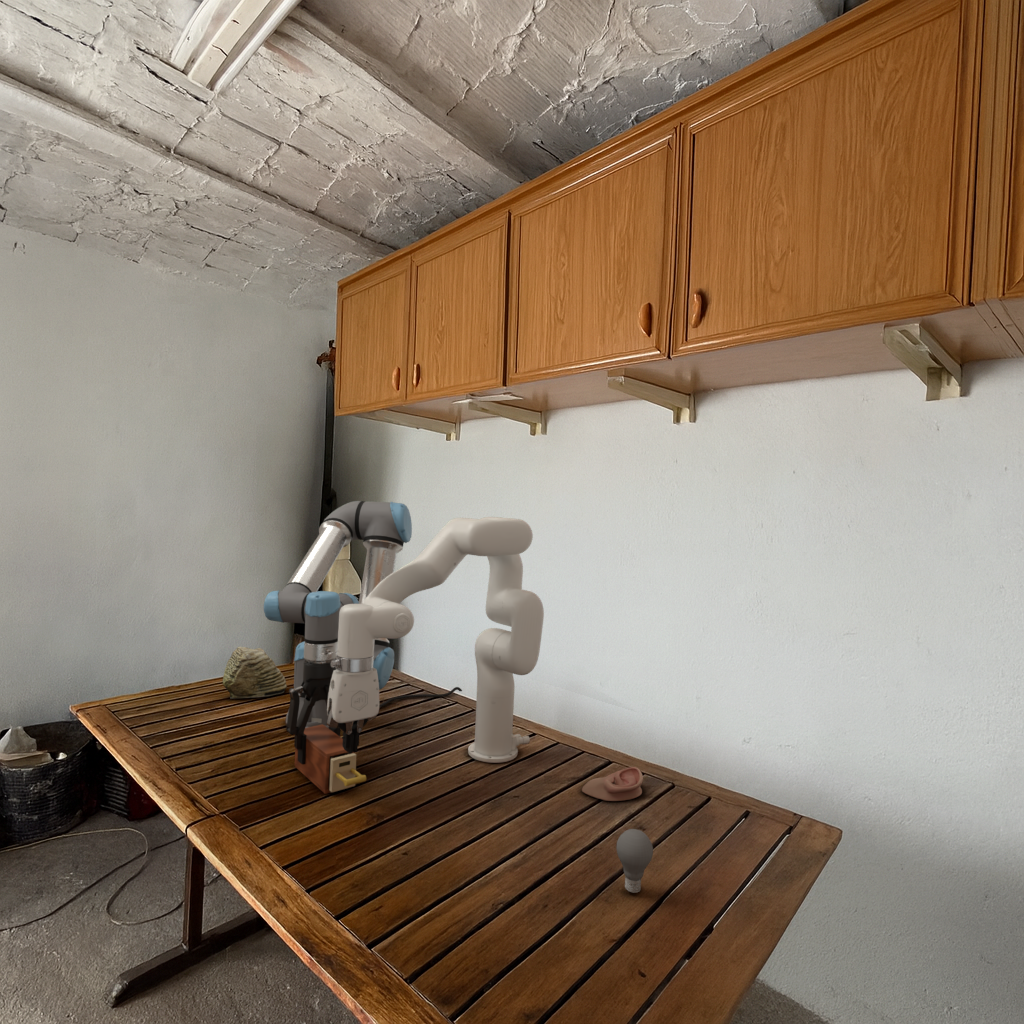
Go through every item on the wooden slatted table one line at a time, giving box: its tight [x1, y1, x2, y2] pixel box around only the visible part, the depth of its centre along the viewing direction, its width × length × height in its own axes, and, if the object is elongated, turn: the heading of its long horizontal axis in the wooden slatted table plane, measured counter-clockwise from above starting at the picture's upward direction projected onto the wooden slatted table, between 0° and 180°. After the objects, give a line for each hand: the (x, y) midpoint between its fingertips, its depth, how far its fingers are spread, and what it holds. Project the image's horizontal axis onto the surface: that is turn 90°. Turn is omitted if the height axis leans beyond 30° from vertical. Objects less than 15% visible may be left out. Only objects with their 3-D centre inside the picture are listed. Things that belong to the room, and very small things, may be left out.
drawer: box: [329, 752, 367, 793], centre depth 140 cm, size 22×5×7 cm, turn 41°
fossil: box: [222, 646, 288, 699], centre depth 198 cm, size 9×18×15 cm, turn 132°
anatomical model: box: [581, 766, 644, 802], centre depth 142 cm, size 13×4×12 cm
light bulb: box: [615, 828, 654, 894], centre depth 106 cm, size 6×6×10 cm
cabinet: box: [294, 724, 356, 795], centre depth 144 cm, size 17×7×9 cm, turn 40°
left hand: (316, 758), depth 146 cm, fingers closed on cabinet, 7 cm apart
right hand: (350, 750), depth 133 cm, fingers closed
